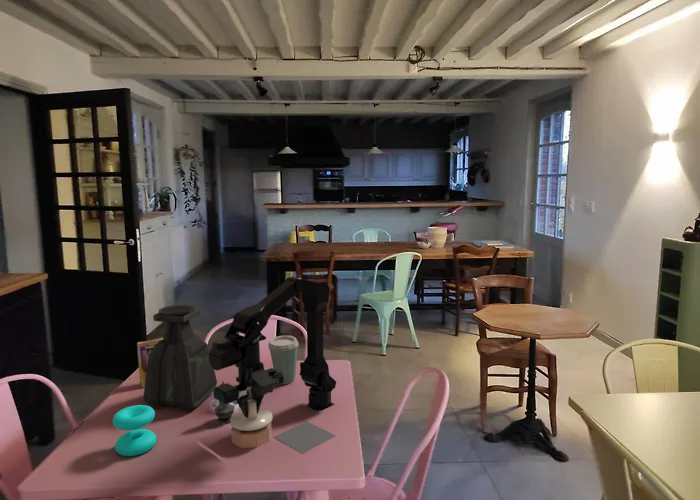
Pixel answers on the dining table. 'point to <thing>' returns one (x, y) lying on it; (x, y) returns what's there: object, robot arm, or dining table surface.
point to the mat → (304, 437)
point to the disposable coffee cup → (284, 356)
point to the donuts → (134, 430)
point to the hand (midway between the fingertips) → (251, 415)
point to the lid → (251, 418)
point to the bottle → (178, 363)
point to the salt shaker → (224, 412)
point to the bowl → (251, 437)
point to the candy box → (145, 357)
